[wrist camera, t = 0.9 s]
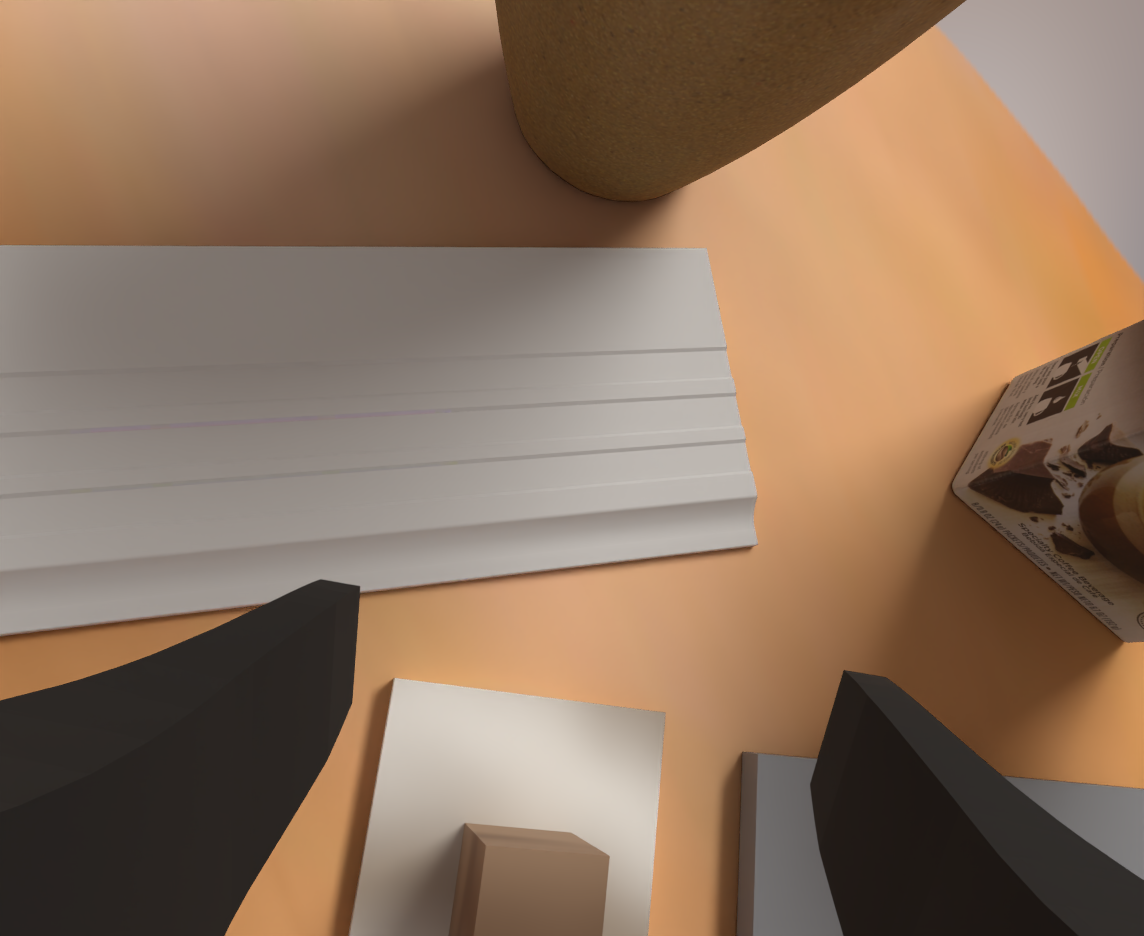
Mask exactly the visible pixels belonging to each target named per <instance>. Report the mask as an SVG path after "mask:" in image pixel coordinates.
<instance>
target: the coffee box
mask: <svg viewBox="0 0 1144 936" xmlns="http://www.w3.org/2000/svg"><path fill="white" fill-rule="evenodd" d="M952 488H953V491H954V493H955V494H956V495H957V496H958V497H959V498H960V499H961V500H962V501H964V502H965V503H966V504H967V505H968V506H969V507H970V508H972V509H973V510H974V511H975V512H976V513H977V514H979V515H980V516H981V517H982V518H983V519H984V520H986V521H987V522H988V523H989V524H990V525H991V526H993V527H994V528H995V529H996V530H997V531H998V532H999V533H1001V534H1002V535H1003V536H1004V537H1005V538H1006V539H1007V540H1008V541H1010V542H1011V543H1012V544H1013V545H1014V546H1015V547H1016V548H1018V549H1019V550H1020V551H1021V552H1022V553H1023V554H1024V555H1026V556H1027V557H1028V558H1029V559H1030V560H1031V561H1032V562H1034V563H1035V564H1036V565H1037V566H1038V567H1039V568H1040V569H1042V570H1043V571H1044V572H1045V573H1046V574H1047V575H1049V576H1050V577H1051V578H1052V579H1053V580H1054V581H1055V582H1057V583H1058V584H1059V585H1060V586H1061V587H1062V588H1063V589H1065V590H1066V591H1067V592H1068V593H1069V594H1070V595H1071V596H1073V597H1074V598H1075V599H1076V600H1077V601H1078V602H1079V603H1080V604H1082V605H1083V606H1084V607H1085V608H1086V609H1087V610H1088V611H1090V612H1091V613H1092V614H1093V615H1094V616H1095V617H1096V618H1098V619H1099V620H1100V621H1101V622H1102V623H1103V624H1104V625H1106V626H1107V627H1108V628H1109V629H1110V630H1111V631H1112V632H1114V633H1115V634H1116V635H1117V636H1118V637H1119V638H1120V639H1121V640H1123V641H1124V642H1128V643H1130V642H1144V320H1142V321H1140V322H1138V323H1136V324H1133V325H1131V326H1129V327H1127V328H1124V329H1122V330H1120V331H1117V332H1115V333H1113V334H1110V335H1108V336H1106V337H1103V338H1101V339H1099V340H1097V341H1095V342H1093V343H1091V344H1089V345H1086V346H1084V347H1082V348H1080V349H1078V350H1075V351H1072V352H1070V353H1068V354H1066V355H1064V356H1061V357H1059V358H1057V359H1055V360H1052V361H1050V362H1048V363H1046V364H1044V365H1041V366H1039V367H1037V368H1034V369H1032V370H1030V371H1027V372H1025V373H1023V374H1021V375H1019V376H1017V377H1015V378H1013V380H1012V381H1011V383H1010V385H1009V386H1008V388H1007V390H1006V391H1005V393H1004V395H1003V396H1002V398H1001V400H1000V402H999V403H998V405H997V407H996V408H995V410H994V412H993V413H992V415H991V417H990V418H989V420H988V422H987V424H986V425H985V427H984V429H983V430H982V432H981V434H980V436H979V437H978V439H977V441H976V443H975V444H974V446H973V448H972V449H971V451H970V453H969V454H968V456H967V458H966V460H965V461H964V463H963V465H962V466H961V468H960V470H959V472H958V474H957V475H956V477H955V479H954V481H953V483H952Z"/></svg>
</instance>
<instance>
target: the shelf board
mask: <svg viewBox="0 0 1144 936" xmlns="http://www.w3.org/2000/svg"><path fill="white" fill-rule="evenodd" d="M664 726H665V713H664V712H657V711H649V710H641V709H633V708H625V707H618V706H610V705H602V704H594V703H586V702H578V701H571V700H563V699H555V698H547V697H539V696H532V695H524V694H516V693H508V692H500V691H492V690H485V689H477V688H469V687H461V686H453V685H446V684H438V683H430V682H422V681H414V680H406V679H399V678H394V679H393V684H392V690H391V696H390V701H389V707H388V713H387V718H386V724H385V730H384V735H383V741H382V747H381V752H380V758H379V764H378V769H377V775H376V781H375V786H374V792H373V798H372V803H371V809H370V815H369V820H368V826H367V832H366V837H365V843H364V849H363V854H362V860H361V866H360V872H359V877H358V883H357V889H356V894H355V900H354V906H353V911H352V917H351V923H350V928H349V934H348V936H648V929H649V916H650V903H651V891H652V878H653V865H654V853H655V840H656V827H657V815H658V802H659V789H660V777H661V764H662V751H663V739H664Z"/></svg>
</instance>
